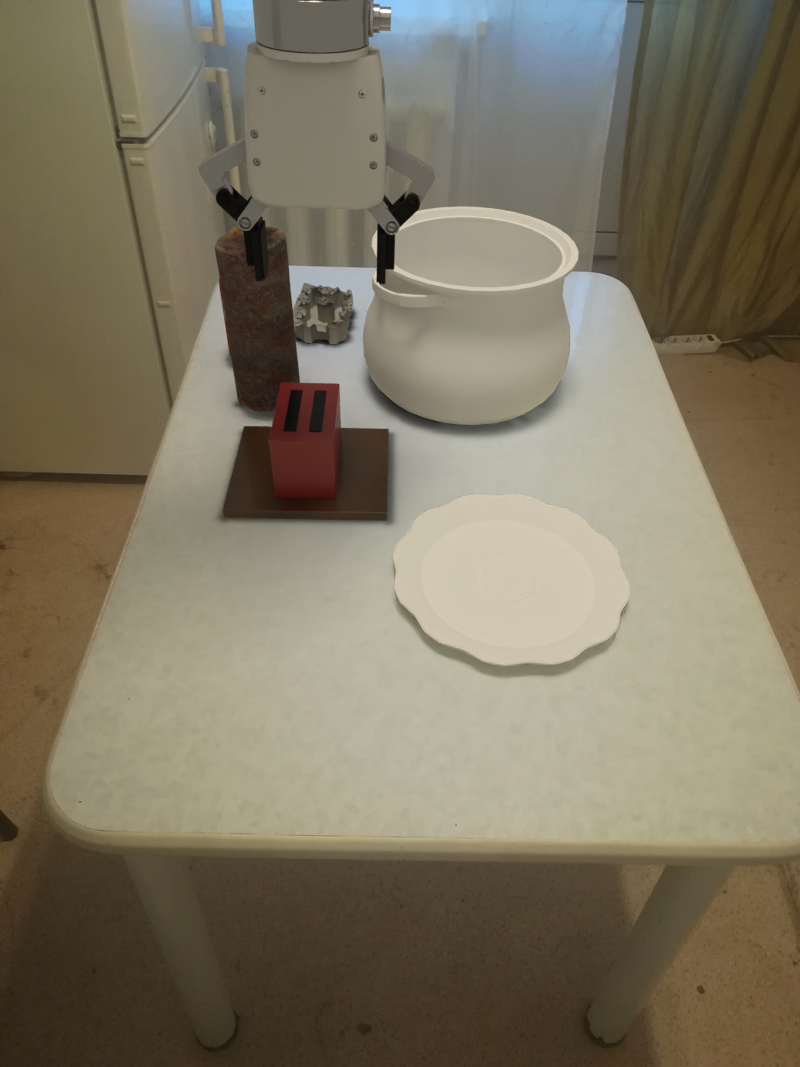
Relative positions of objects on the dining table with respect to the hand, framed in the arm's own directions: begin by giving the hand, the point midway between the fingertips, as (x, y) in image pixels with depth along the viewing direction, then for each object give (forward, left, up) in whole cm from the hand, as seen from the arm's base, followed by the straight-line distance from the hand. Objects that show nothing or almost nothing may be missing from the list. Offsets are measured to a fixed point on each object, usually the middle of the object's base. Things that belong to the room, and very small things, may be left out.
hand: (322, 275), depth 61 cm
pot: (+15, +22, -23) cm, 35 cm away
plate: (+17, -12, -23) cm, 31 cm away
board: (-2, +3, -23) cm, 23 cm away
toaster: (-2, +3, -22) cm, 22 cm away
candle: (-8, +16, -23) cm, 29 cm away
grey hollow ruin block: (-3, +35, -23) cm, 42 cm away
